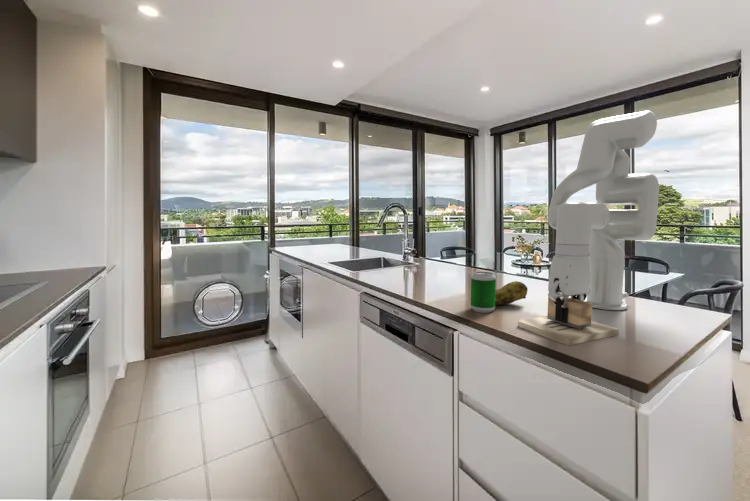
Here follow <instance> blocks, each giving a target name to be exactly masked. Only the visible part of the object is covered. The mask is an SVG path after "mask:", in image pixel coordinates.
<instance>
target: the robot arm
mask: <svg viewBox="0 0 750 501" xmlns="http://www.w3.org/2000/svg"><path fill="white" fill-rule="evenodd" d="M657 124H658V121H657V117H656V114H655V113H654V112H652V110H644V111H643V110H642V111H639V112H632V113H626V114H621V115H616V116H615V115H614V116H610V117H605V118H600V119H598V120H597V119H596V120H595V121H593V122H591V123H590V124H589V125H588V126H587V128H586V132H585V133H584V137H583V141H582V145H581V149H580V154H579V159H578V162H577V166H576V169H575V170H573V171H572V172H570V173H569V175H567V176H566V177H565V178H564V179H563V180H561V182H560V183H559V184H558V185H557V187H556V188H555V189H554V191H553V193H552V196H551V200H550V203H549V207H548V212H547V222H548V225H549V227H551V228H552V229H554V230H555V248H554V250H555V253H554V256H553V257H552V260H551V264H550V270H549V276H548V277H549V278H548V285H547V286H548V288H547V290H548V293H547V298H548V297H549V298H550V299H552V301H553V302H554V305H555V306H556V309H555V320H556V321H559V322H562V323H567V322H568V308H566V306H567V302H568V297H569V298H573V299H578V300H582V301H586V302H590V303H592V309H598V310H605V311H625V310H627V309H628V304H627V303H625V302H623V299H628V298H630V295H629V293H628V292H623V286H624V270H625V258H626V256H625V251H624V249H623V248H622V247H621V245H620V244H619V243H618V242H617V241H620V240H621V241H647V240H650V239H652V238H653V237H654V236H655V233H656V230H657V222H658V221H657V220H658V208H659V196H660V185H659V180H658V177H656V175H655V174H652V173H646V172H644V173H643V172H642V173H630V168H631V167H630V166H631V159H630V158H631V157H630V156H629V155H628V154H627V152H626V151H625V150H631V149H638V148H641V147H644V146H645V145H646V144H647V143H648V142H650V140H651V139H653V137H654V135H655V134H656V131H657V126H658V125H657ZM593 185H595V200H596V202H595V201H594V202H593V201H591V202H590V201H589V202H582V201H581V202H580V201H579V202H578V201H577V202H576V201H575V202H573V201H572V202H567V201H568V200H569V199H570V198H571V197H572V196H573V195H574V194H576V193H578V192H579V191H582V190H584V189H586V188H588V187H589V188H590V187H591V186H593ZM608 206H637V208H638V209H637V208H635V209H632V208H631V209H609V207H608ZM560 297H563V301H562V300H561V299H560Z"/></svg>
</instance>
